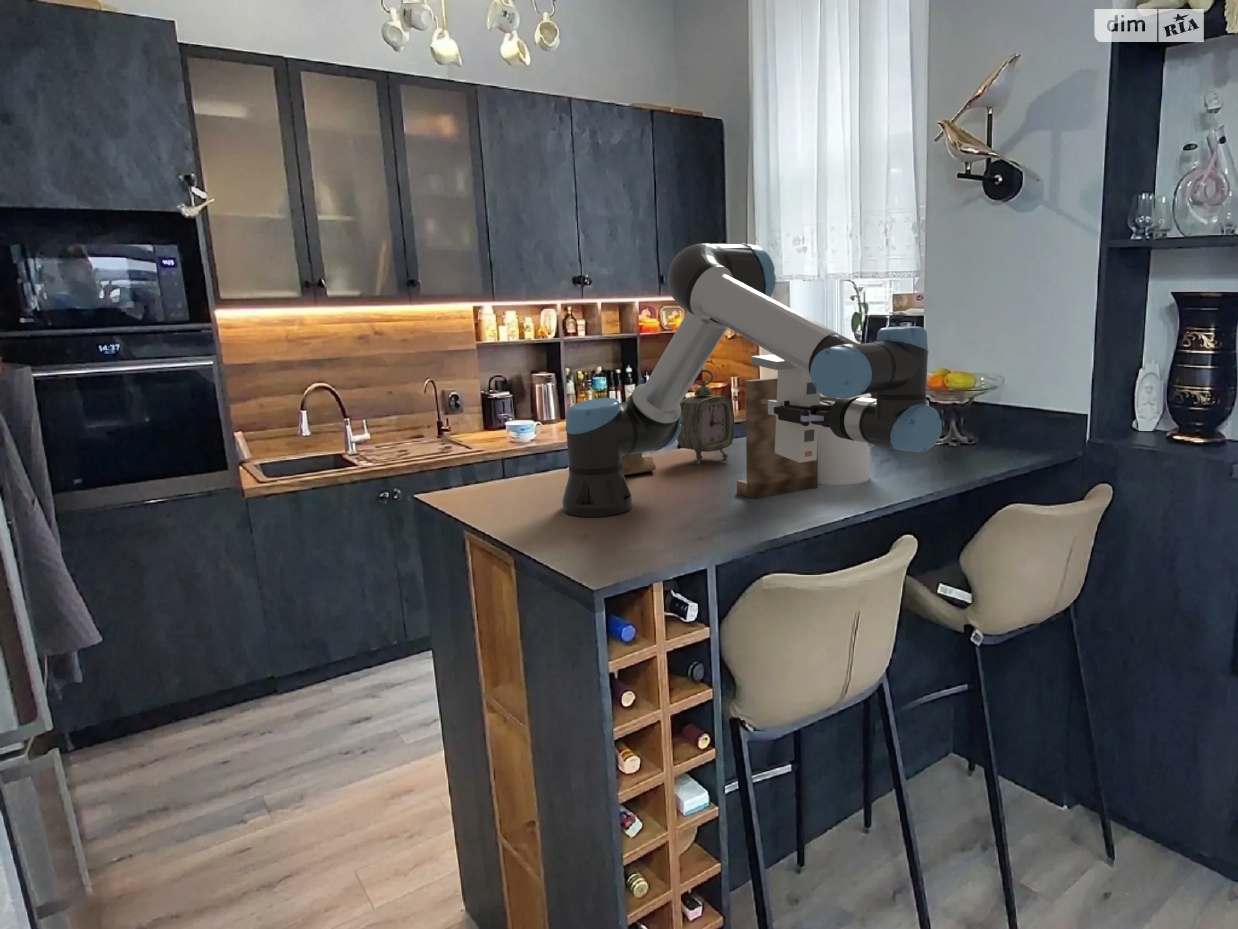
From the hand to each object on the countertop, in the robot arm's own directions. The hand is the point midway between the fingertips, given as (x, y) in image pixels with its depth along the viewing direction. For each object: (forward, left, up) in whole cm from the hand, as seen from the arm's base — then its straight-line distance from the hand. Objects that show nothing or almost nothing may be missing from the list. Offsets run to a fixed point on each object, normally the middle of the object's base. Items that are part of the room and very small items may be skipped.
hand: (779, 406), depth 158 cm
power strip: (0, -5, -9) cm, 11 cm away
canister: (+31, +21, -23) cm, 44 cm away
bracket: (+12, +12, -22) cm, 28 cm away
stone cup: (-8, +54, -23) cm, 59 cm away
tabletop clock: (+16, +57, -23) cm, 63 cm away
